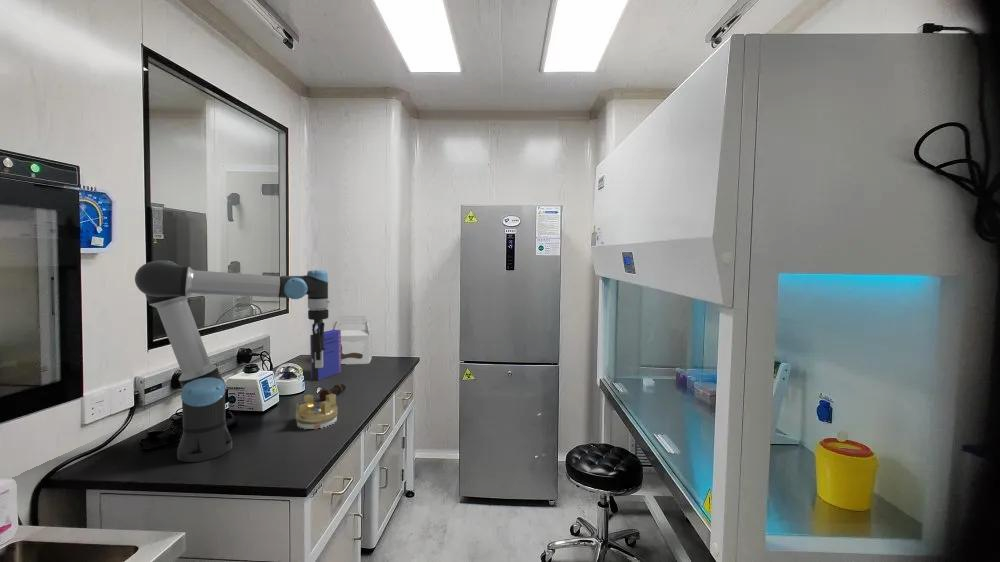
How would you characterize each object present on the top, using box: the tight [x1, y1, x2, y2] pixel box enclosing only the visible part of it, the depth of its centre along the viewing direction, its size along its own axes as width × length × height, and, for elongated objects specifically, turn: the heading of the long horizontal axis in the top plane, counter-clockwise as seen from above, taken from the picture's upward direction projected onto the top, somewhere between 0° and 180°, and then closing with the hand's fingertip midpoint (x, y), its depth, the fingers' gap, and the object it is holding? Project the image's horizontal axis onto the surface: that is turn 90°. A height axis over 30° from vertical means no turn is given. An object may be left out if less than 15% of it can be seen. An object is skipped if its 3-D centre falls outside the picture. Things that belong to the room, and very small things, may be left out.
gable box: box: [332, 315, 373, 365], centre depth 263 cm, size 22×13×28 cm, turn 101°
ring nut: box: [295, 394, 339, 424], centre depth 168 cm, size 15×15×7 cm
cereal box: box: [309, 329, 342, 382], centre depth 231 cm, size 17×5×24 cm, turn 160°
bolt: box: [318, 383, 347, 401], centre depth 200 cm, size 6×5×15 cm
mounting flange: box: [296, 416, 338, 430], centre depth 168 cm, size 14×14×2 cm
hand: (319, 367), depth 173 cm, fingers closed
